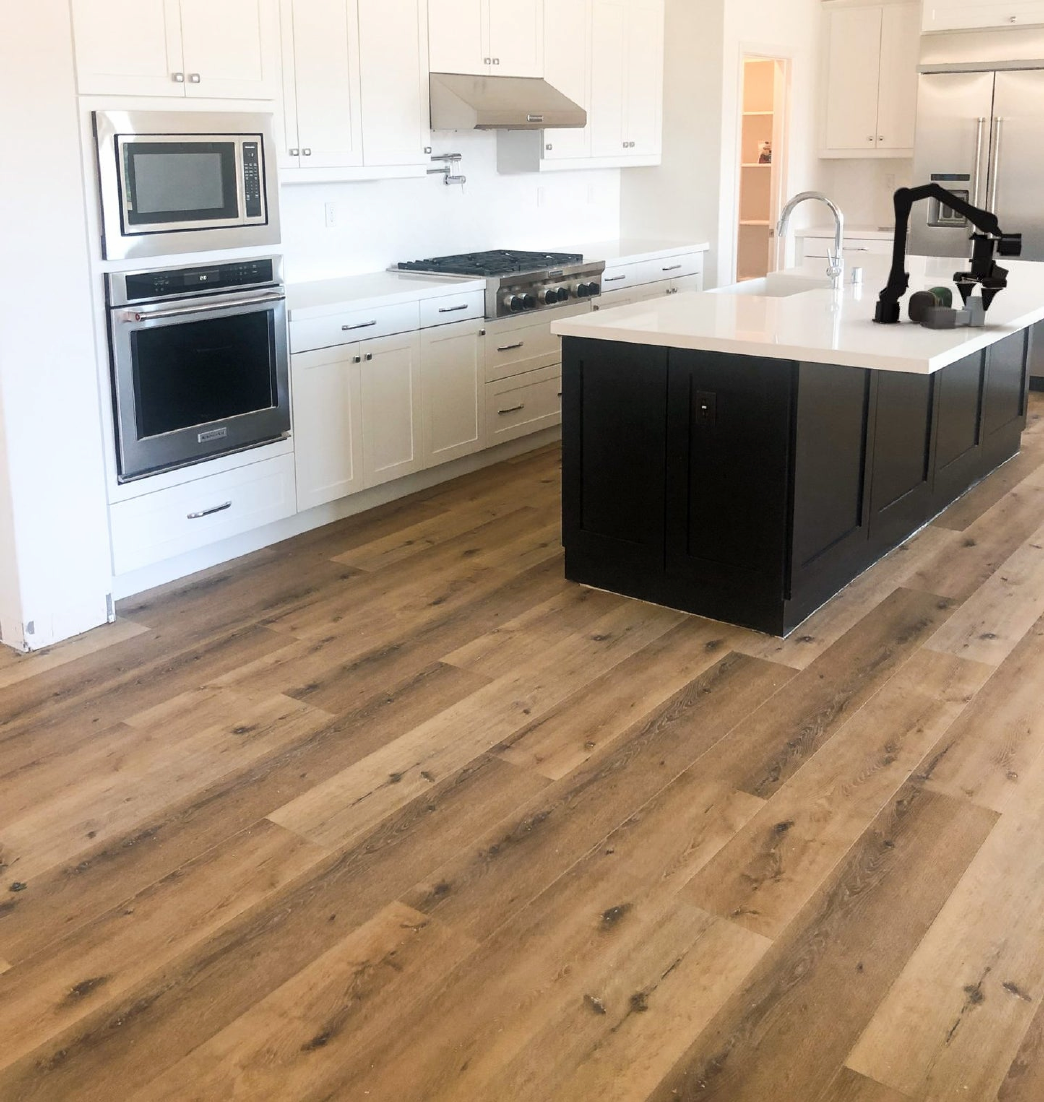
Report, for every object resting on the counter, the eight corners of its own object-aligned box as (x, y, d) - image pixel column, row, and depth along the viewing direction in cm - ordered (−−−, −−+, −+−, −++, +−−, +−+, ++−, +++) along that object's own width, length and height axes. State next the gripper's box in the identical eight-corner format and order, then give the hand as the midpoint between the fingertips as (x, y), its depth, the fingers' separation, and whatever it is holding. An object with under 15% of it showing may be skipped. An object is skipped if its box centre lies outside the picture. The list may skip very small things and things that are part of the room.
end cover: (953, 327, 361) (957, 299, 358) (942, 324, 366) (945, 297, 363) (985, 325, 363) (988, 298, 361) (973, 323, 368) (977, 295, 366)
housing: (934, 329, 358) (936, 310, 356) (920, 325, 365) (922, 307, 363) (954, 328, 360) (956, 309, 358) (940, 325, 366) (943, 306, 364)
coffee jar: (929, 285, 381) (907, 290, 368) (954, 287, 377) (932, 292, 363) (926, 316, 384) (904, 322, 371) (951, 318, 380) (929, 325, 366)
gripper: (1026, 258, 352) (1018, 312, 357) (986, 252, 369) (979, 304, 374) (993, 259, 349) (986, 313, 355) (954, 253, 366) (948, 305, 371)
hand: (975, 309), depth 364 cm, fingers open, 9 cm apart
